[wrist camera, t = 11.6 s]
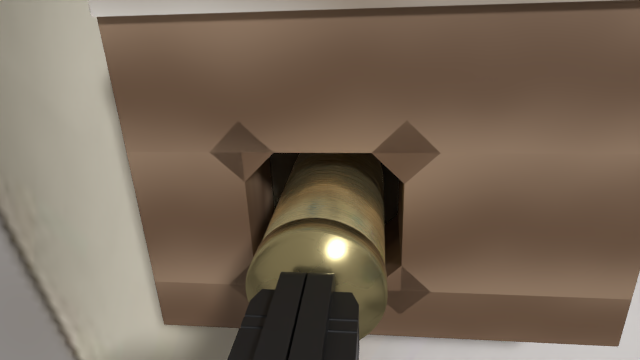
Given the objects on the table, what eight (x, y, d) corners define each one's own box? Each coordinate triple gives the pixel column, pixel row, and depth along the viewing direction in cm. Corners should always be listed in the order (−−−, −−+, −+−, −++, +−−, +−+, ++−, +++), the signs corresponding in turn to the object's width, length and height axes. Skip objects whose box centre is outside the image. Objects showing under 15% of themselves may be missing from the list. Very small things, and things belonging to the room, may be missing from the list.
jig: (148, -11, 18) (87, -4, 15) (647, -30, 16) (731, -28, 12) (197, 269, 24) (161, 329, 20) (578, 282, 22) (622, 352, 18)
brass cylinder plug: (288, 134, 20) (238, 230, 13) (385, 135, 20) (388, 233, 13) (294, 219, 22) (252, 345, 15) (383, 221, 22) (386, 352, 14)
